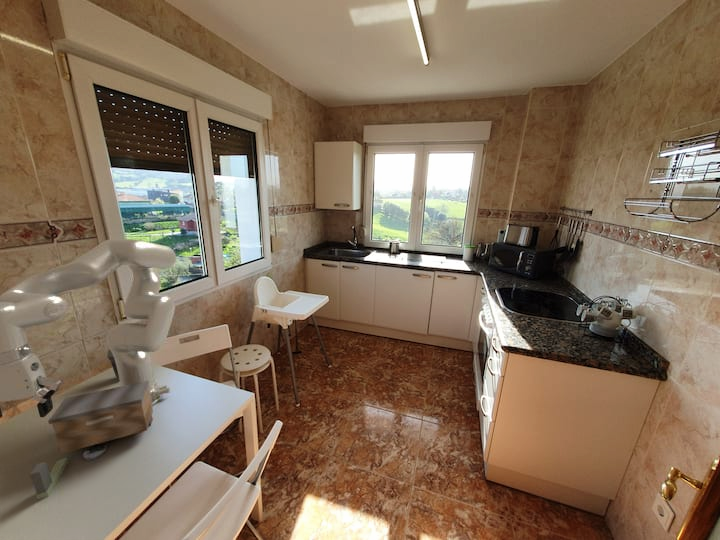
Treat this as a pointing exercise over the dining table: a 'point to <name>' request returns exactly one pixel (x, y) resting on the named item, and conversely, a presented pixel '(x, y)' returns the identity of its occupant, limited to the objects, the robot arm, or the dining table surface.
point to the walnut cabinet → (102, 416)
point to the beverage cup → (113, 363)
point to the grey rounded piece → (94, 452)
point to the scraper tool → (47, 477)
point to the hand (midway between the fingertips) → (21, 417)
